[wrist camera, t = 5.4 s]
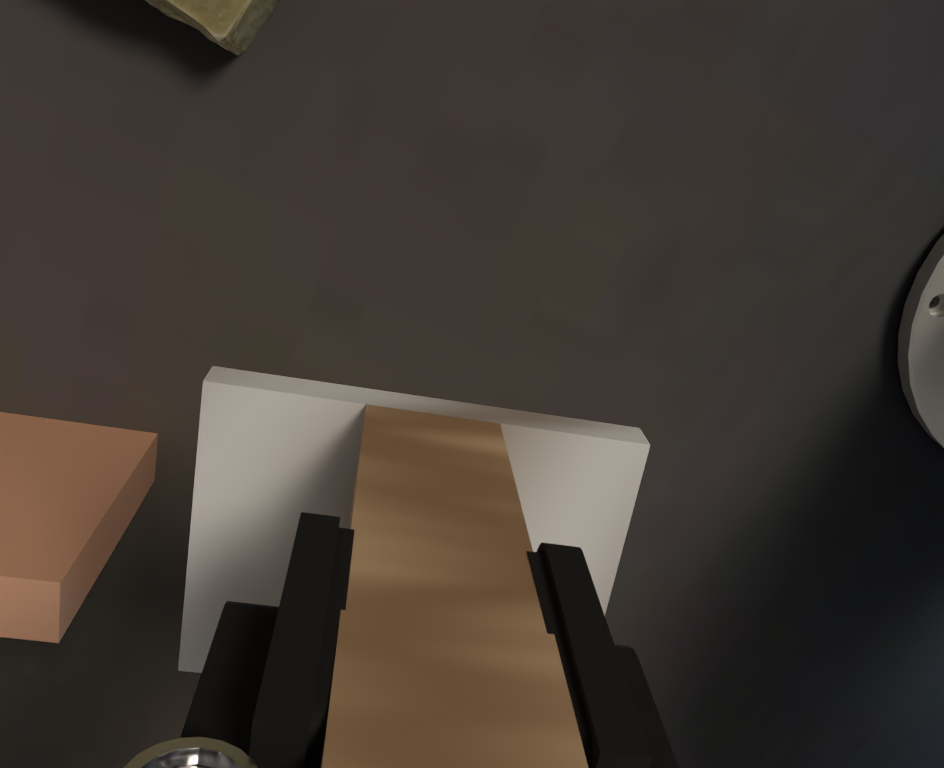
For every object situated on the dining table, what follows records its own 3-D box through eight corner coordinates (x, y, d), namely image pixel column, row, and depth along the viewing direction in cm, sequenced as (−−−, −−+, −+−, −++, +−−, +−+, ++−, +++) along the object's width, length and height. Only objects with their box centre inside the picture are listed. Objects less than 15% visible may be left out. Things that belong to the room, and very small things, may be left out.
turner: (639, 428, 17) (1072, 1109, 6) (572, 685, 19) (804, 1564, 8) (212, 366, 16) (-226, 1045, 5) (187, 645, 18) (-169, 1585, 7)
